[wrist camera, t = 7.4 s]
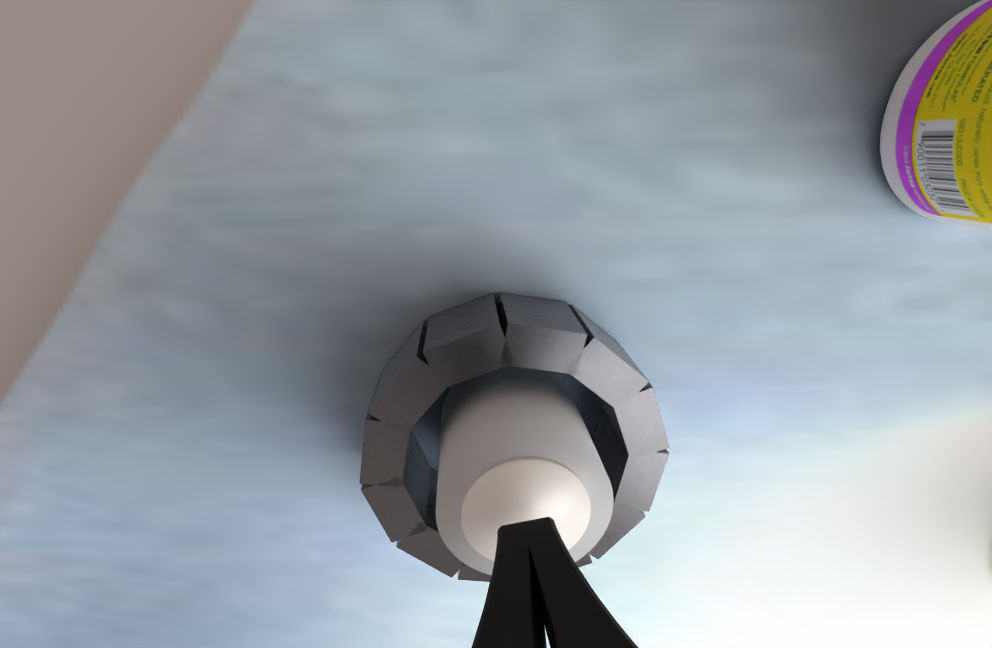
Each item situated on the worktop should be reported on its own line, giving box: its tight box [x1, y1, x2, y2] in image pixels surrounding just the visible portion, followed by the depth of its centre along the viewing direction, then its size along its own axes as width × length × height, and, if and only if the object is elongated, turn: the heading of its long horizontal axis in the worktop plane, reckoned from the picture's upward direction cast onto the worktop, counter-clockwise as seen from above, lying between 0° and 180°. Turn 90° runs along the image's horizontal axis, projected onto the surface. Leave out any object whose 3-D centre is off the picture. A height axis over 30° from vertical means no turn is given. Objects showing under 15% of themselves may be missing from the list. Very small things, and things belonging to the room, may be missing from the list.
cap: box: [436, 366, 614, 575], centre depth 16 cm, size 5×5×5 cm
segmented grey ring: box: [360, 292, 669, 582], centre depth 17 cm, size 10×10×3 cm
